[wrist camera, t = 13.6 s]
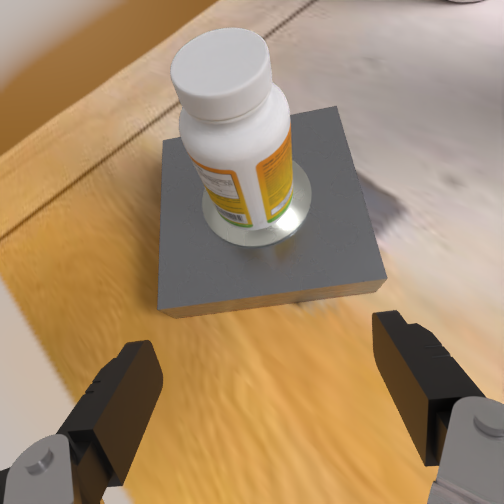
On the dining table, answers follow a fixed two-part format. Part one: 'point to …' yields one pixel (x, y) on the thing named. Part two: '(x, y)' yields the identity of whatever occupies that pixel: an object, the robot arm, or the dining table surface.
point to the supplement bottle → (235, 125)
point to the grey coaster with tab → (269, 233)
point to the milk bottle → (464, 0)
